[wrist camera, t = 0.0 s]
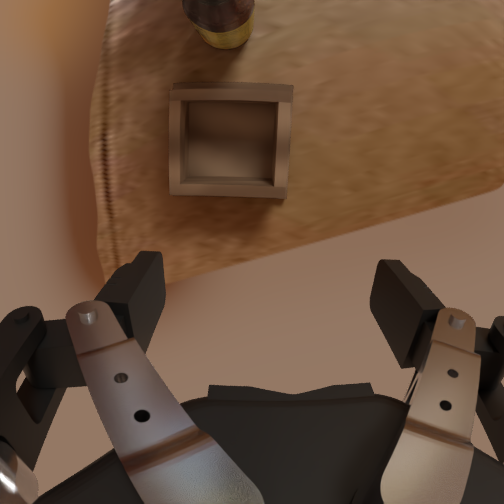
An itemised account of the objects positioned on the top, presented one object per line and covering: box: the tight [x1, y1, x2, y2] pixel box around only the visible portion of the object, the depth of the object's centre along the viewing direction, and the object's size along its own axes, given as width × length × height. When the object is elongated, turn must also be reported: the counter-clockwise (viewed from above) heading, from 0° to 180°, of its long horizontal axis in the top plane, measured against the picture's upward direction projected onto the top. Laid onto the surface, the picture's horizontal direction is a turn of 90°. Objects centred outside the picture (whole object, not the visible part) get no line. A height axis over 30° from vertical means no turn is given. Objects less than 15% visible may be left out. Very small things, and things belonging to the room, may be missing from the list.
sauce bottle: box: [182, 0, 255, 50], centre depth 23 cm, size 7×6×20 cm
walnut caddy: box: [169, 82, 293, 199], centre depth 34 cm, size 14×14×6 cm
